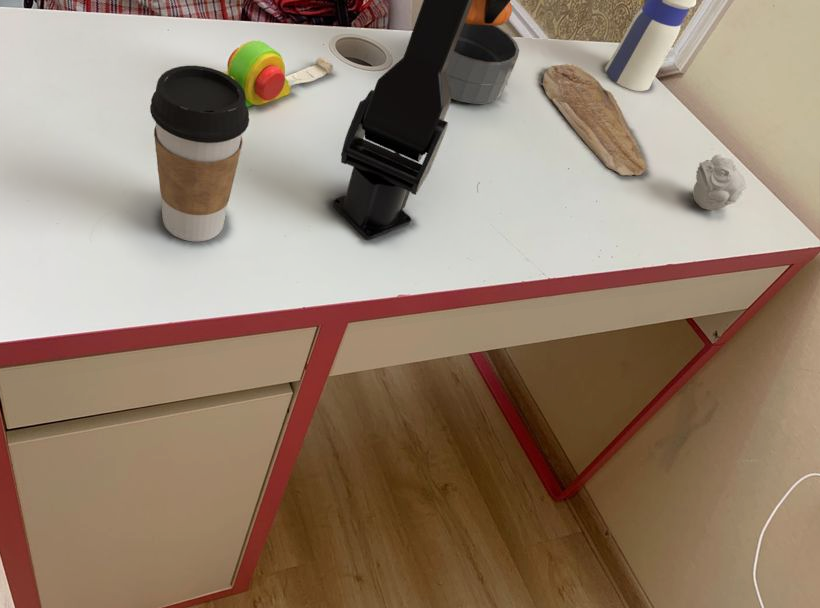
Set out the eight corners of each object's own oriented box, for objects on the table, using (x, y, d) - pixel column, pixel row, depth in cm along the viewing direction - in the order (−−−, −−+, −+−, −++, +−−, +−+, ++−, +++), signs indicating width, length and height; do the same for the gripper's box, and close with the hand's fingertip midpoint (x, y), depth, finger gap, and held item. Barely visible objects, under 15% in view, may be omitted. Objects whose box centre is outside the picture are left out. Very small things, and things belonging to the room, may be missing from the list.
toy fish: (448, 28, 91) (458, 2, 88) (438, 12, 93) (447, -14, 90) (509, 31, 95) (520, 6, 92) (498, 16, 97) (509, -10, 94)
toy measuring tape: (197, 96, 84) (200, 44, 79) (310, 58, 96) (319, 10, 91) (233, 124, 82) (239, 72, 77) (344, 81, 94) (355, 34, 89)
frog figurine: (671, 185, 96) (702, 142, 90) (718, 196, 96) (751, 154, 91) (682, 214, 92) (715, 170, 86) (731, 225, 93) (766, 182, 87)
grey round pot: (457, 115, 95) (474, 71, 90) (395, 64, 100) (408, 19, 95) (518, 97, 102) (537, 54, 97) (457, 50, 107) (472, 7, 102)
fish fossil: (669, 175, 97) (674, 168, 96) (608, 181, 94) (612, 174, 93) (580, 67, 111) (583, 60, 110) (524, 69, 108) (526, 63, 107)
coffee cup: (154, 252, 67) (156, 114, 55) (145, 194, 71) (144, 55, 60) (243, 249, 70) (261, 117, 58) (228, 193, 74) (242, 61, 63)
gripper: (627, -74, 80) (565, 56, 91) (548, -140, 90) (502, -15, 101) (545, -85, 75) (492, 53, 87) (473, -152, 86) (433, -21, 97)
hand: (481, 15), depth 93 cm, fingers closed on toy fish, 3 cm apart
